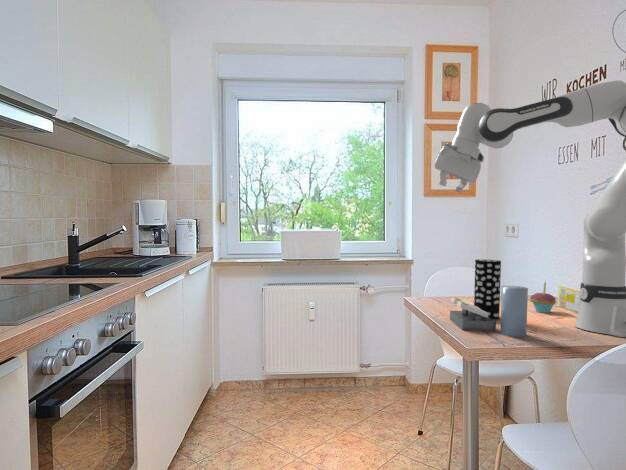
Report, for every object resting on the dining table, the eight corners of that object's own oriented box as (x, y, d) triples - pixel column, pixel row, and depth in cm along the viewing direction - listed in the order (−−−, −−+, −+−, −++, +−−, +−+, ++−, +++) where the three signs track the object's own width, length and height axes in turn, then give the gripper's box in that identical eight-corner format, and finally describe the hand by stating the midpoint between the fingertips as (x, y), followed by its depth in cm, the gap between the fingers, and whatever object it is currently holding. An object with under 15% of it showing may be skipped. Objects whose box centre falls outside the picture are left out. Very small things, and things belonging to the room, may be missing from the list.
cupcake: (559, 314, 150) (560, 282, 150) (534, 313, 151) (535, 281, 151) (549, 309, 158) (550, 278, 158) (526, 308, 160) (527, 278, 159)
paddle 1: (475, 310, 138) (477, 305, 138) (479, 312, 134) (481, 308, 134) (450, 300, 138) (452, 296, 138) (453, 302, 135) (455, 298, 135)
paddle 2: (483, 315, 131) (485, 310, 131) (487, 317, 127) (489, 312, 127) (456, 304, 131) (458, 300, 131) (459, 307, 128) (461, 302, 128)
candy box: (588, 315, 150) (589, 292, 150) (582, 315, 150) (583, 292, 150) (561, 306, 166) (562, 286, 166) (556, 306, 166) (557, 285, 166)
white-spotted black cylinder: (497, 315, 147) (498, 259, 147) (501, 320, 139) (502, 262, 139) (472, 313, 149) (473, 259, 149) (475, 318, 141) (476, 261, 141)
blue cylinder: (520, 331, 126) (521, 285, 125) (530, 337, 119) (532, 289, 118) (496, 330, 126) (497, 285, 126) (506, 337, 119) (507, 289, 119)
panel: (479, 320, 140) (480, 306, 139) (495, 330, 126) (496, 316, 125) (449, 319, 140) (450, 305, 140) (462, 330, 126) (462, 315, 126)
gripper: (452, 141, 134) (439, 182, 135) (487, 159, 146) (474, 196, 147) (437, 140, 139) (424, 180, 140) (472, 157, 151) (459, 193, 152)
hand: (450, 188), depth 144 cm, fingers open, 8 cm apart
